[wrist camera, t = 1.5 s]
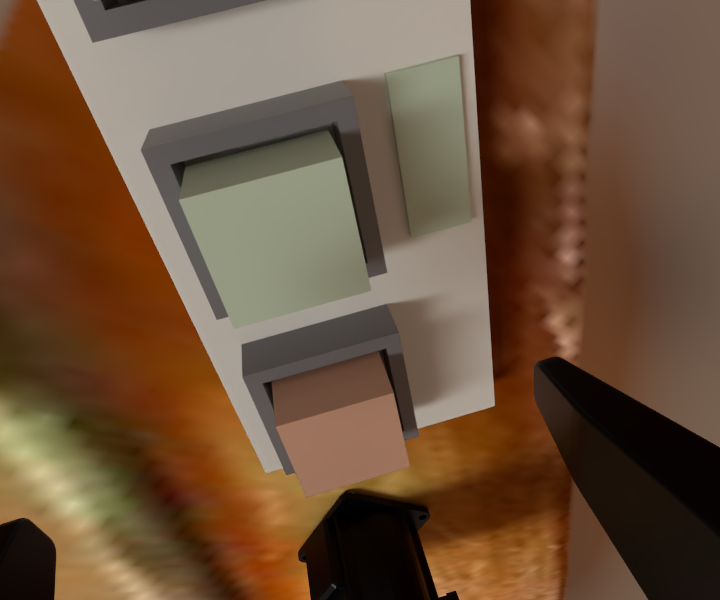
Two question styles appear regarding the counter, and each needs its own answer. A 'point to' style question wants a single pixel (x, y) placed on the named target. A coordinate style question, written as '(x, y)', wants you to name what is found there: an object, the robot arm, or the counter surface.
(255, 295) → the sage button
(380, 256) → the button panel
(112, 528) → the counter surface
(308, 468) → the terracotta button
